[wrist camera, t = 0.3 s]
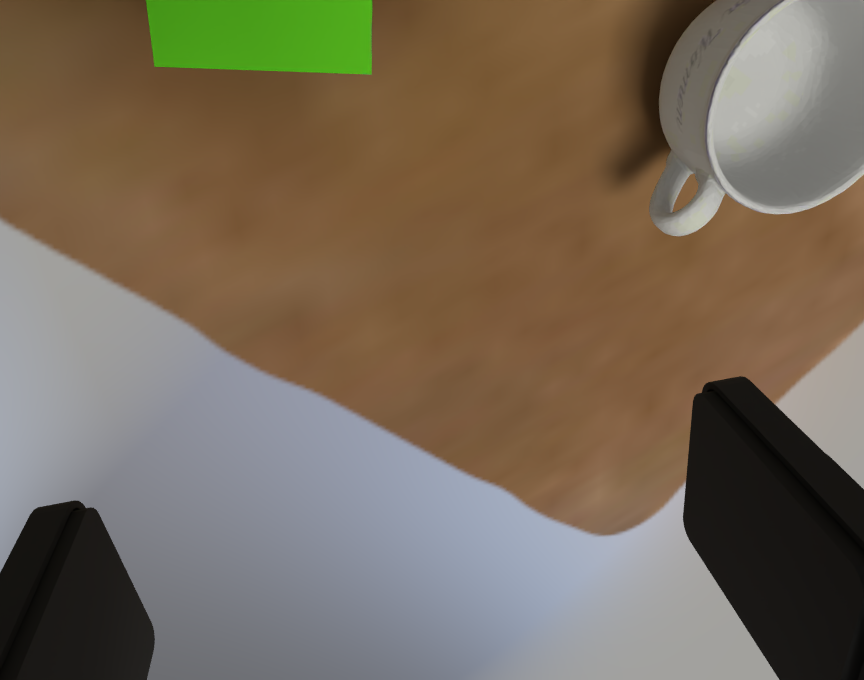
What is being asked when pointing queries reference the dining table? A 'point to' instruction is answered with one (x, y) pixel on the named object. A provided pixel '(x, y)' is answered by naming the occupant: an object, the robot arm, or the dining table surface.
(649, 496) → the dining table surface
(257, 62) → the toy car
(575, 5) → the dining table surface
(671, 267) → the dining table surface
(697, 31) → the teacup
